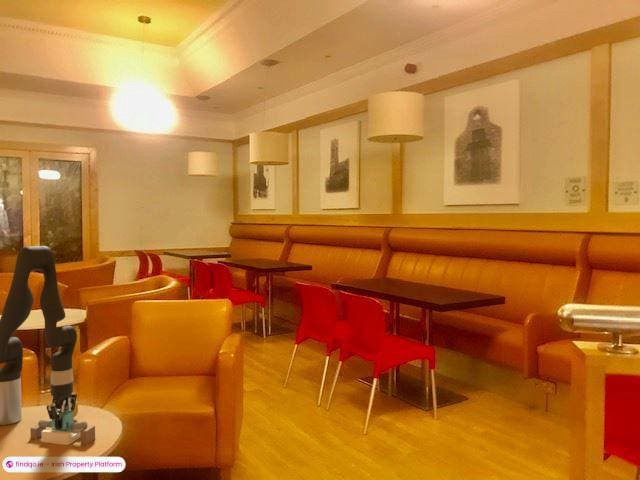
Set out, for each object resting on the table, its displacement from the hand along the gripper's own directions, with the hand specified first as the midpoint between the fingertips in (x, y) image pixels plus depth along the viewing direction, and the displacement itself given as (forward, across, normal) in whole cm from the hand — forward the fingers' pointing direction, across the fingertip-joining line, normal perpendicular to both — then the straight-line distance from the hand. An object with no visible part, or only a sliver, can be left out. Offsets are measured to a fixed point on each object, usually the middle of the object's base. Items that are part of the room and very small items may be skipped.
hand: (62, 426), depth 194 cm
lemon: (+5, -16, -9) cm, 19 cm away
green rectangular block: (+1, 0, 0) cm, 1 cm away
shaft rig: (+5, 0, 0) cm, 5 cm away
